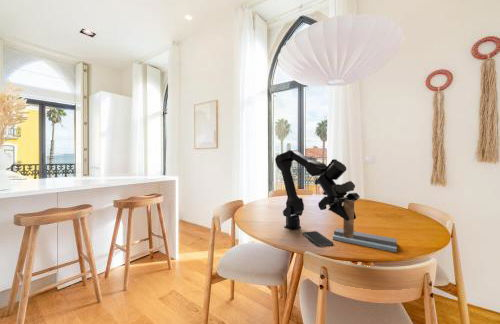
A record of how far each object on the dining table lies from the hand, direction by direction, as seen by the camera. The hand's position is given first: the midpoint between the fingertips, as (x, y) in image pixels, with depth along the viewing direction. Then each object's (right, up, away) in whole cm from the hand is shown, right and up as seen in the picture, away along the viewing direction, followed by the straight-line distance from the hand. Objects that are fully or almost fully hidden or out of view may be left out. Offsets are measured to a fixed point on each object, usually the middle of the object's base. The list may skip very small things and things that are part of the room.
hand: (351, 219), depth 85 cm
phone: (-9, -13, +15) cm, 22 cm away
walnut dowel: (-1, -7, +2) cm, 7 cm away
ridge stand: (+11, -13, +13) cm, 21 cm away
